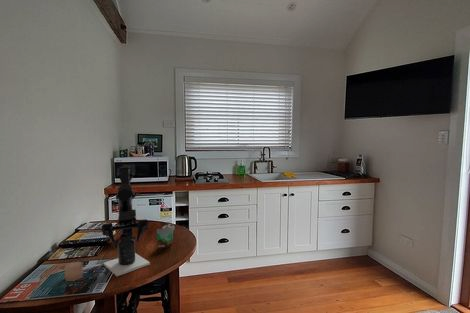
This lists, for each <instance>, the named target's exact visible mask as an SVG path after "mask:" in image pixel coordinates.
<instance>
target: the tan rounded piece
mask: <svg viewBox="0 0 470 313" xmlns="http://www.w3.org/2000/svg"><path fill="white" fill-rule="evenodd" d="M83 269H84V266H83V262H81V261H73V262H71V263H70V262H69V263H67V264H66V265H65V266H64V281H65V280H66V281H65V282H67V281H73V282H76V281H75V280H77V281H79V280H81V279H83V277H84V270H83ZM80 278H81V279H80ZM78 279H79V280H78Z"/></svg>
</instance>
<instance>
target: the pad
mask: <svg viewBox="0 0 470 313" xmlns="http://www.w3.org/2000/svg"><path fill="white" fill-rule="evenodd" d="M150 264H151V262H150V261H149V260H148V259H146V258H144V257H142V255H139V254H138V253H136V252H135V262H134V263H132V264H130V265H120V264H119V262H118V257H117V258H114V259H112V260H108V261H105V262H103V266H104V267H105V268H106V269H108V271H109V272H111V273H112V274H114V276H116V277H119V276H121V275H125V274H127V273H131V272H133V271H136V270H138V269H142V268H144V267H147V266H149V265H150Z"/></svg>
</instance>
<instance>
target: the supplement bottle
mask: <svg viewBox="0 0 470 313" xmlns="http://www.w3.org/2000/svg"><path fill="white" fill-rule="evenodd" d="M119 237H120V238H119V242H118V243H117V258H118V262H119V264H120V265H130V264H132V263H134V262H135V253H136V243H135V240H134V239H133V238H132V234H131V233H125V234H122V233H121V234H120V235H119Z"/></svg>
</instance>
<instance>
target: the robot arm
mask: <svg viewBox="0 0 470 313" xmlns="http://www.w3.org/2000/svg"><path fill="white" fill-rule="evenodd" d="M116 170H117V171H116V173H117V174H116V175H117V176H118V178H119V180H120V186H119V187H118V188H117V191H116V196H115V199H116V200H117V204H118V218H117V222H118V223H117V224H118V225H113V222H107V223H102V225H101V231H102V232H101V233H102V236H105V237H108V238H109V240H110V241H111V245H112V246H113V248H115V246H116V243H115V236H114V231H120V230H121V235H122V234H125V233H131V234H132V239H134V238H135V239H136V244H137V245H139V243H140V239H141V237H142V235H143V233H145V232H146V231H148V230H149V220H148V218H147V219H146V218H144V219H139V220H138V222H137V218H136V217H137V211H136V209H133V200H134V198H136V193H135V190H133V186H132V185H131V181H132V179H133V175H135V174H134V167H132V166H120V167H118V168H117V169H116ZM134 229H137V237H136V236H135V235H134ZM118 238H119V239H120V236H119V237H118Z"/></svg>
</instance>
